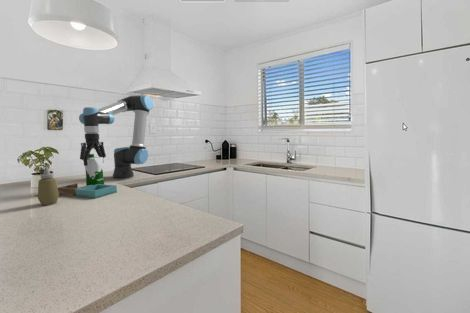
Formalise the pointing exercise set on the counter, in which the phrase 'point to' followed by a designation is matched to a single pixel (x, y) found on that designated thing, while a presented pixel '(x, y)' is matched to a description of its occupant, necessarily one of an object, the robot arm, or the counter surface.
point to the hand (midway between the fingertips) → (94, 169)
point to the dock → (69, 190)
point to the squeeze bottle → (47, 188)
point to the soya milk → (94, 171)
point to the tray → (96, 191)
